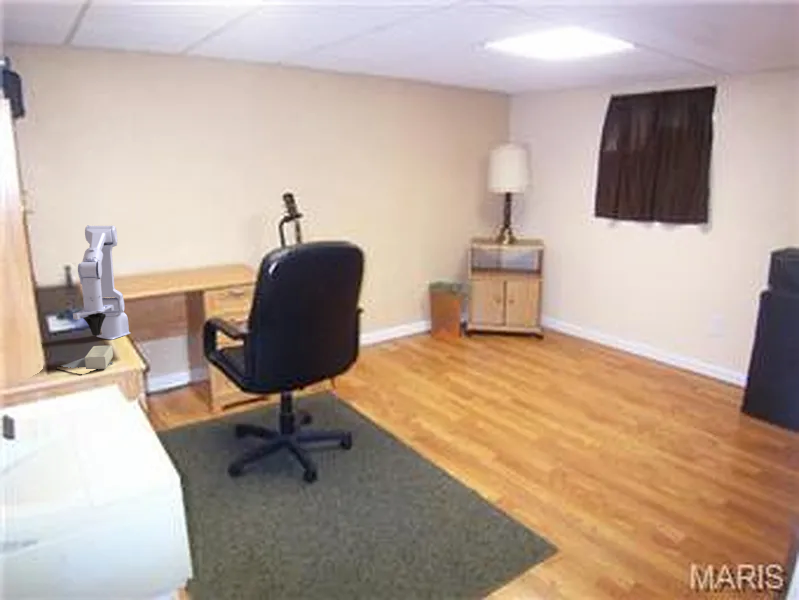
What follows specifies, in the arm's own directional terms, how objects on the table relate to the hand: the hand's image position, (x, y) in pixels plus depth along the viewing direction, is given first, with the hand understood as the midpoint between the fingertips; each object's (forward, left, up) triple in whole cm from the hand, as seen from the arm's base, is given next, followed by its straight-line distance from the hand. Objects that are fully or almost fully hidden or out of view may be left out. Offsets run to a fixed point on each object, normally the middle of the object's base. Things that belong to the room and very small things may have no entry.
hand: (96, 334), depth 197 cm
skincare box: (-1, +1, -6) cm, 6 cm away
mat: (+7, +2, -9) cm, 11 cm away
